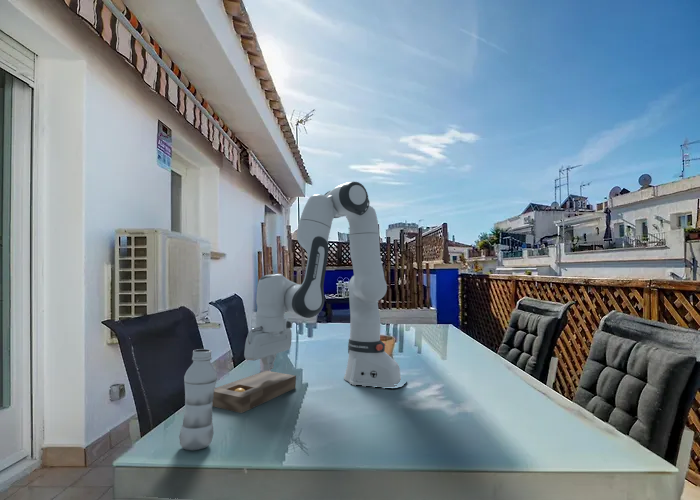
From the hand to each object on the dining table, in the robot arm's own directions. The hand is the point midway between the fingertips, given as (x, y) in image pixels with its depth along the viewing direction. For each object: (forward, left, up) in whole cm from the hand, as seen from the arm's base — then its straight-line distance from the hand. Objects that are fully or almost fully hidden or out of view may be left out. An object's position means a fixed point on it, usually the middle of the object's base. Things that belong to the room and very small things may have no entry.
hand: (268, 369), depth 118 cm
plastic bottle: (-10, +38, -7) cm, 40 cm away
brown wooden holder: (+1, +5, -7) cm, 9 cm away
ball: (+1, +12, -5) cm, 13 cm away
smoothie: (+16, -20, -7) cm, 26 cm away
